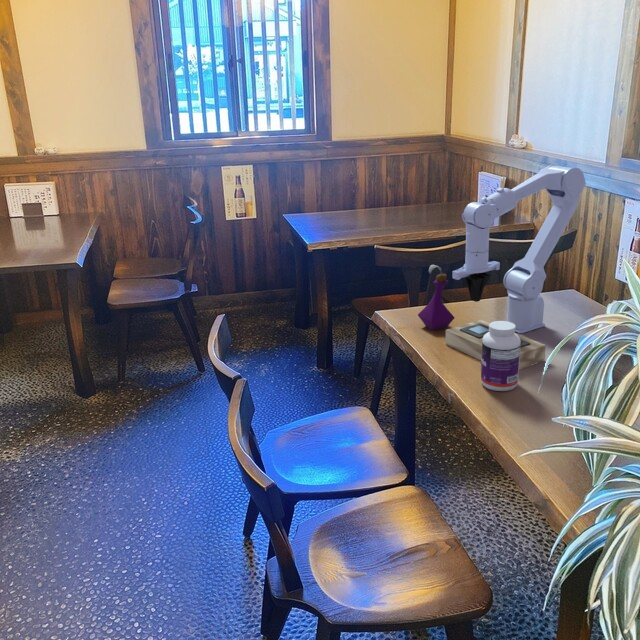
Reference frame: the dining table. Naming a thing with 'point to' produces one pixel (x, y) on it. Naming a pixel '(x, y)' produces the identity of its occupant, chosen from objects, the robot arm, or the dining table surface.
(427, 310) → the perfume bottle
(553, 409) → the dining table surface
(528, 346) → the socket block
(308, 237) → the dining table surface
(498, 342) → the pill bottle
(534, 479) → the dining table surface
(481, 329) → the peg blue
